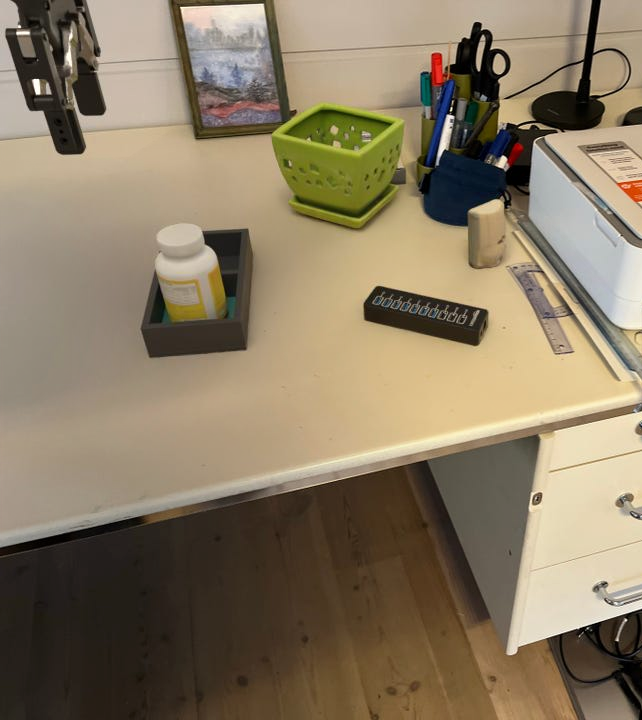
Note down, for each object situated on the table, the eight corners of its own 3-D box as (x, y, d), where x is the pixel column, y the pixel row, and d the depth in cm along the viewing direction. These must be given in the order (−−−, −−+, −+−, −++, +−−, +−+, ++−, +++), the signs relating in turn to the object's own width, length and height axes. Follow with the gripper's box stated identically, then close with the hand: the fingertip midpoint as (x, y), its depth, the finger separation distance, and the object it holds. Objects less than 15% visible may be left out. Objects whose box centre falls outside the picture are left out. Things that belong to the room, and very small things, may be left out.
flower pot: (364, 241, 104) (359, 155, 96) (278, 218, 107) (265, 133, 99) (409, 197, 114) (407, 116, 106) (328, 178, 117) (321, 98, 109)
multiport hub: (377, 299, 93) (376, 284, 92) (488, 324, 91) (489, 309, 89) (362, 319, 90) (361, 304, 89) (477, 346, 87) (478, 330, 86)
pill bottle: (223, 299, 91) (205, 214, 83) (235, 330, 86) (217, 242, 79) (167, 311, 88) (143, 225, 81) (176, 343, 84) (151, 255, 76)
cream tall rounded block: (471, 245, 104) (473, 193, 99) (508, 250, 104) (512, 198, 99) (463, 267, 100) (465, 214, 95) (502, 272, 99) (506, 219, 94)
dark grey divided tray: (246, 350, 85) (240, 321, 82) (149, 358, 83) (140, 328, 80) (252, 255, 100) (248, 228, 97) (170, 260, 98) (163, 232, 95)
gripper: (-4, -96, 60) (58, 104, 71) (-71, -61, 50) (13, 169, 60) (95, -93, 62) (142, 102, 72) (51, -59, 51) (113, 166, 61)
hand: (83, 132), depth 66 cm, fingers open, 8 cm apart
